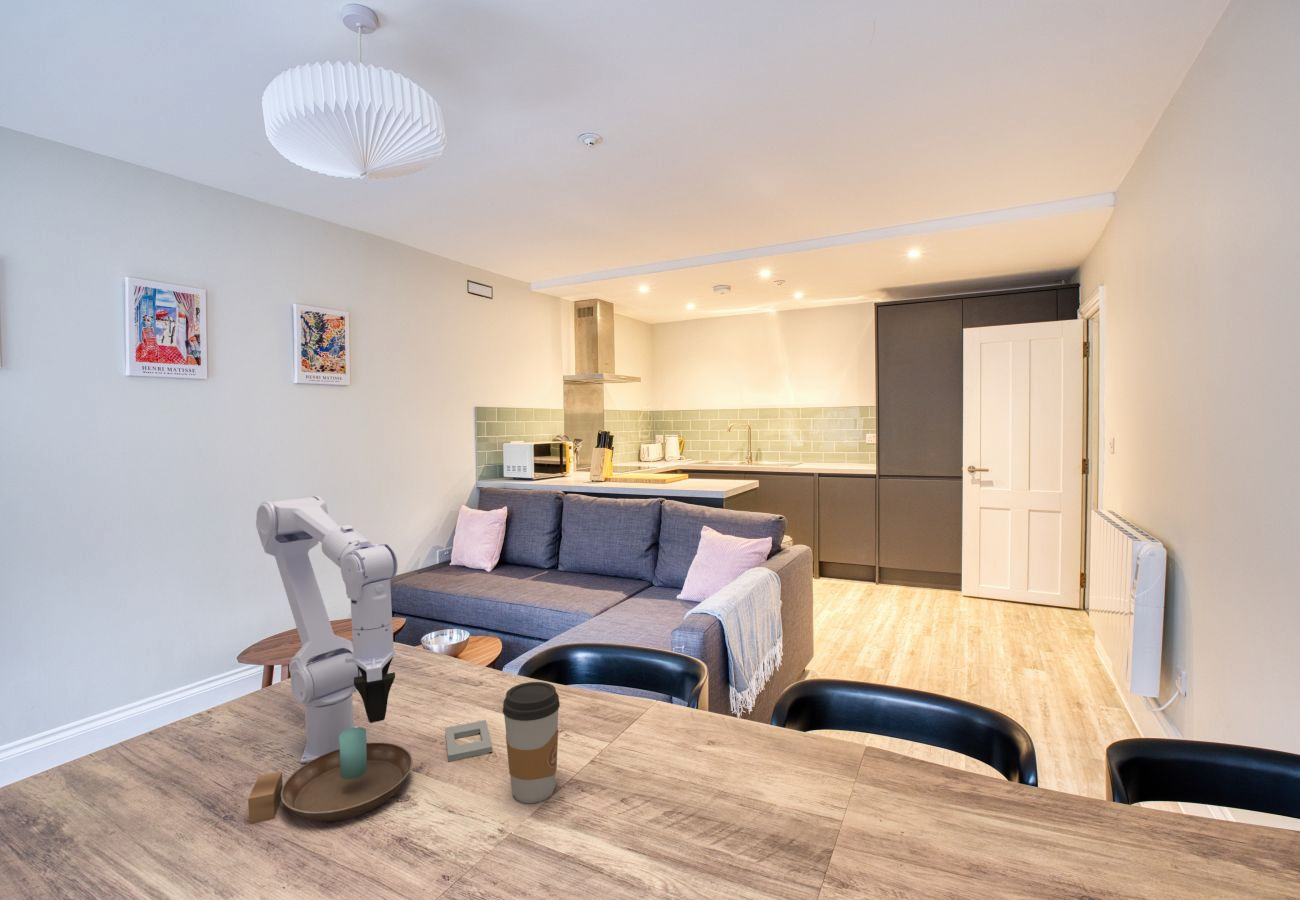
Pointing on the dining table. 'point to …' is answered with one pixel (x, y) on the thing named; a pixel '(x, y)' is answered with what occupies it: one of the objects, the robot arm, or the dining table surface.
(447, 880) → the dining table surface
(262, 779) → the stop block
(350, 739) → the dowel
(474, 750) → the socket block
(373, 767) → the plant saucer
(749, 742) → the dining table surface
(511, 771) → the coffee cup
